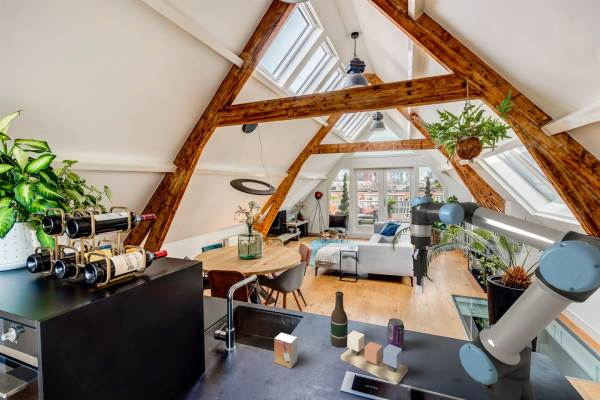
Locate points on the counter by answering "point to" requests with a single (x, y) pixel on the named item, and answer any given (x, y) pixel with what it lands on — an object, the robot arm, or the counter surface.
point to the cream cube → (355, 341)
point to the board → (375, 366)
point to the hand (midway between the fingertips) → (419, 292)
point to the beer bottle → (339, 323)
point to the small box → (285, 350)
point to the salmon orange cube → (373, 352)
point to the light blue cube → (392, 356)
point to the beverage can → (395, 333)
